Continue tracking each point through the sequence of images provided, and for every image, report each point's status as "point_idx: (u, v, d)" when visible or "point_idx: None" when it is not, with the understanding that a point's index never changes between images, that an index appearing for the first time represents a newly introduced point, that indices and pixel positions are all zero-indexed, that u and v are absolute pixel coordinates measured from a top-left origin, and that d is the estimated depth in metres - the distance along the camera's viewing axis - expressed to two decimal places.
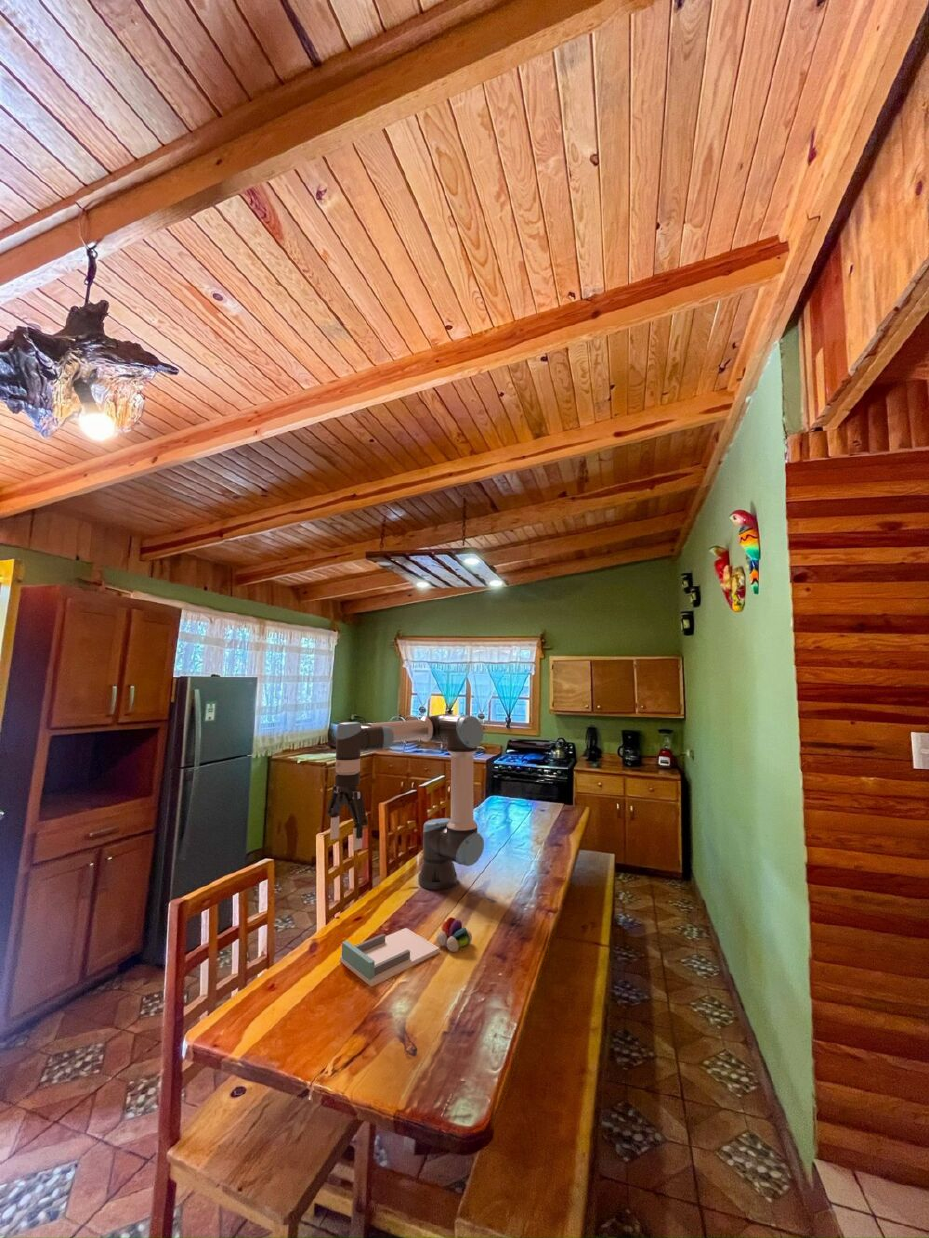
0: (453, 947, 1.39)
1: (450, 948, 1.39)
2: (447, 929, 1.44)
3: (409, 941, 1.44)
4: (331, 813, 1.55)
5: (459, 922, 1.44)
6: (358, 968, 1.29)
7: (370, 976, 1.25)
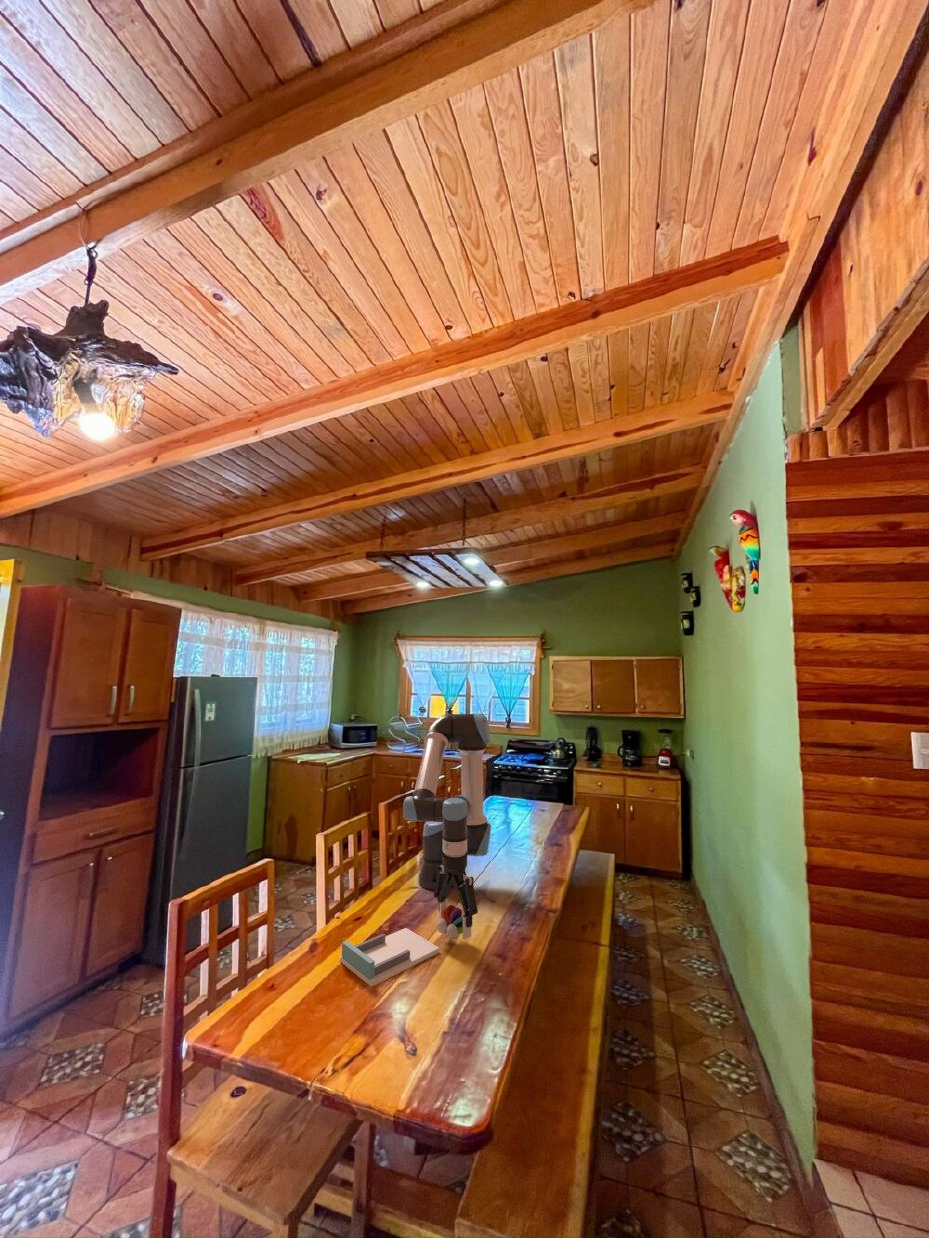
0: (453, 934, 1.40)
1: (450, 935, 1.40)
2: (447, 916, 1.45)
3: (409, 941, 1.44)
4: (439, 897, 1.49)
5: (459, 910, 1.45)
6: (358, 968, 1.29)
7: (370, 976, 1.25)
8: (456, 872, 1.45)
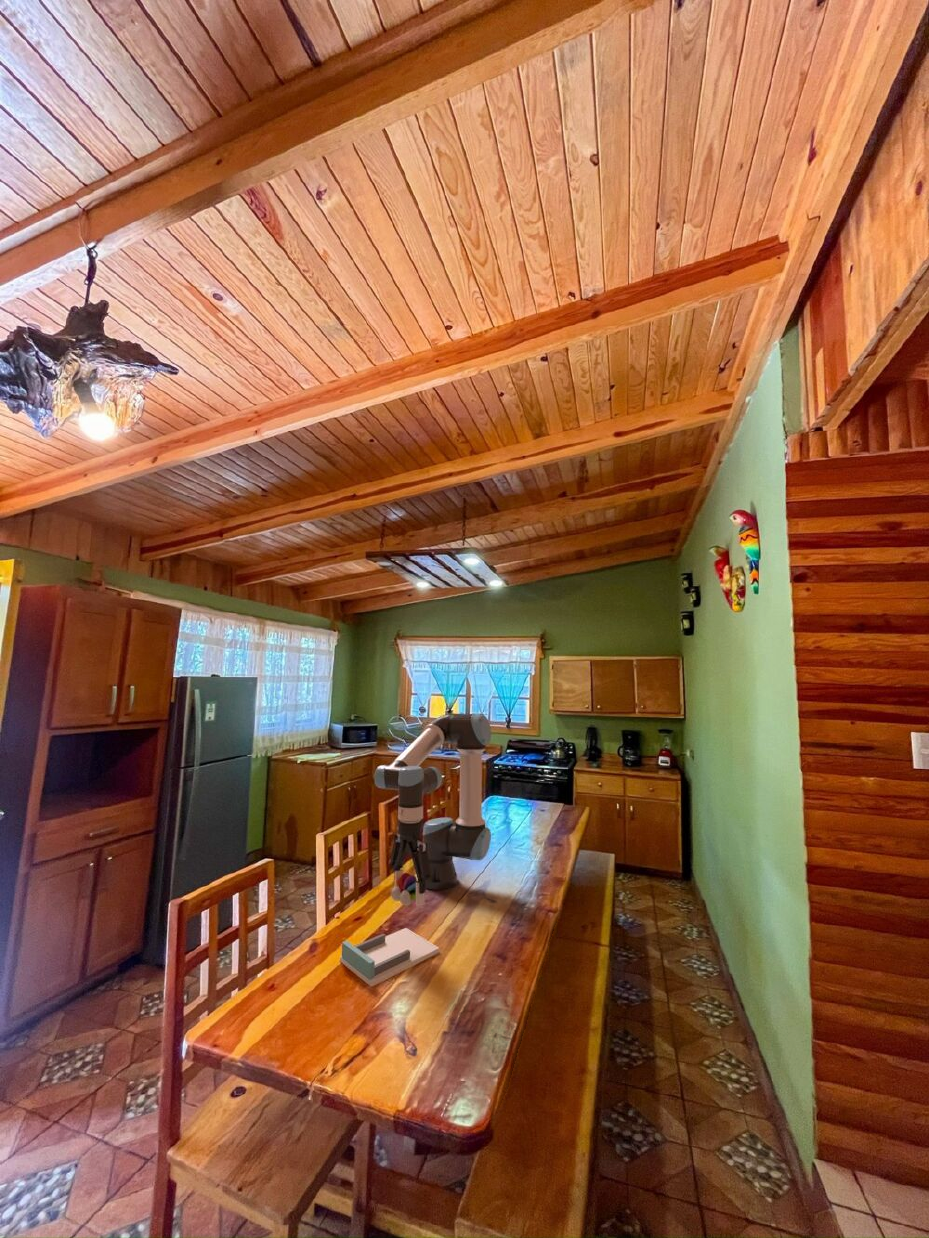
0: (405, 900, 1.39)
1: (403, 901, 1.39)
2: (401, 884, 1.43)
3: (409, 941, 1.44)
4: (395, 866, 1.48)
5: (413, 877, 1.44)
6: (358, 968, 1.29)
7: (370, 976, 1.25)
8: (411, 839, 1.44)
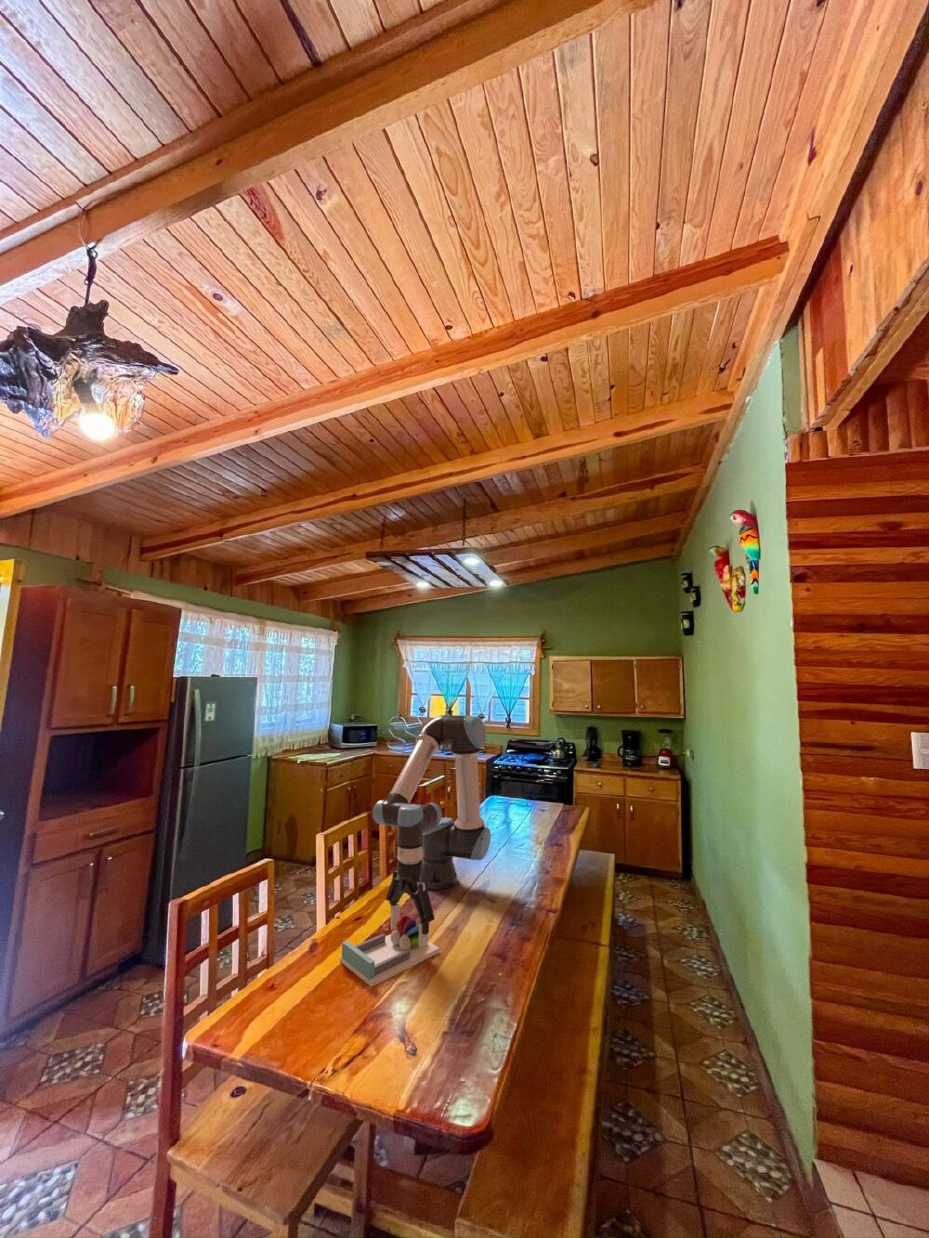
0: (405, 945, 1.37)
1: (402, 947, 1.38)
2: (401, 927, 1.42)
3: None
4: (391, 901, 1.48)
5: (413, 920, 1.43)
6: (358, 968, 1.29)
7: (370, 976, 1.25)
8: (410, 880, 1.43)
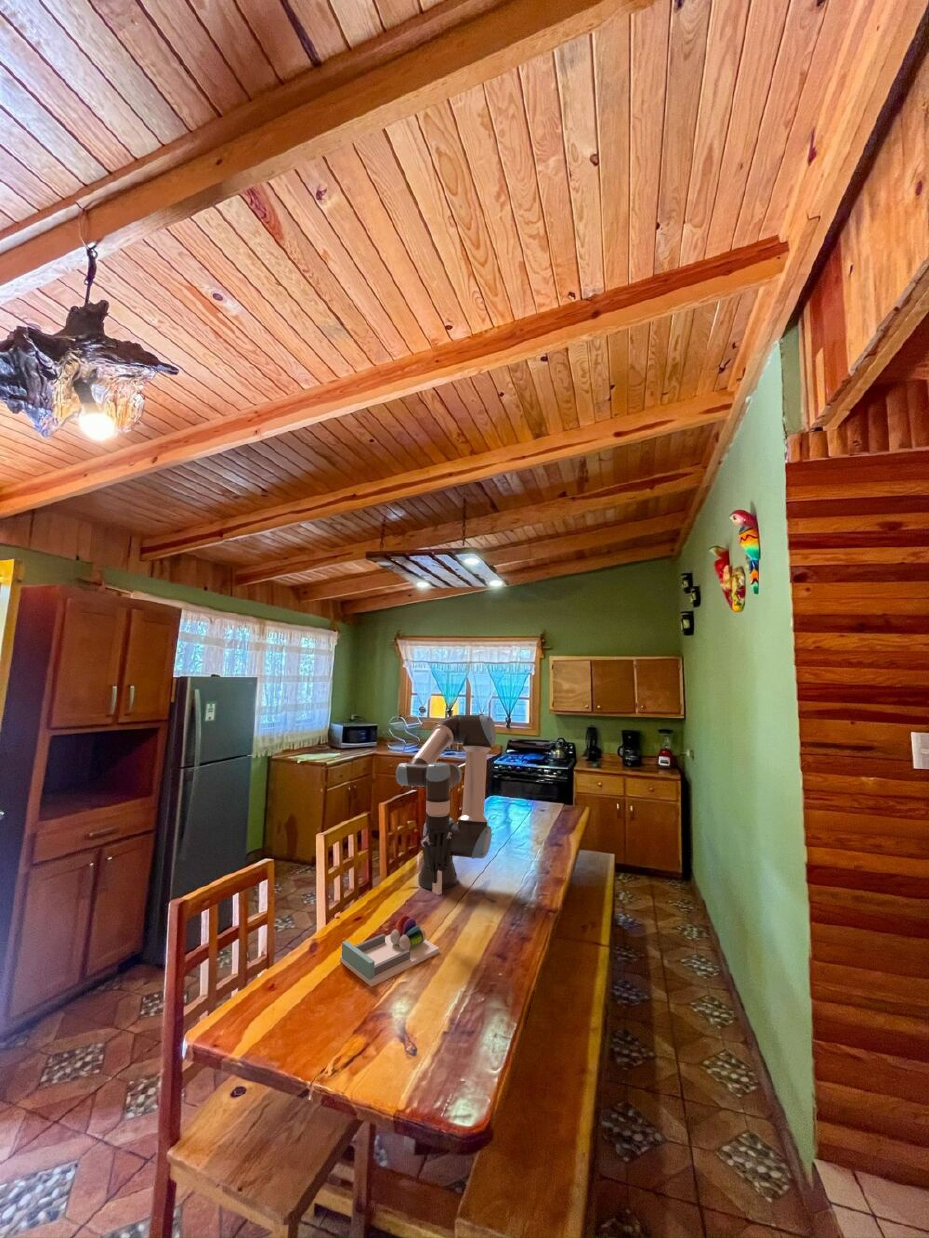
0: (405, 945, 1.37)
1: (402, 947, 1.38)
2: (400, 927, 1.42)
3: None
4: None
5: (413, 920, 1.43)
6: (358, 968, 1.29)
7: (370, 976, 1.25)
8: None
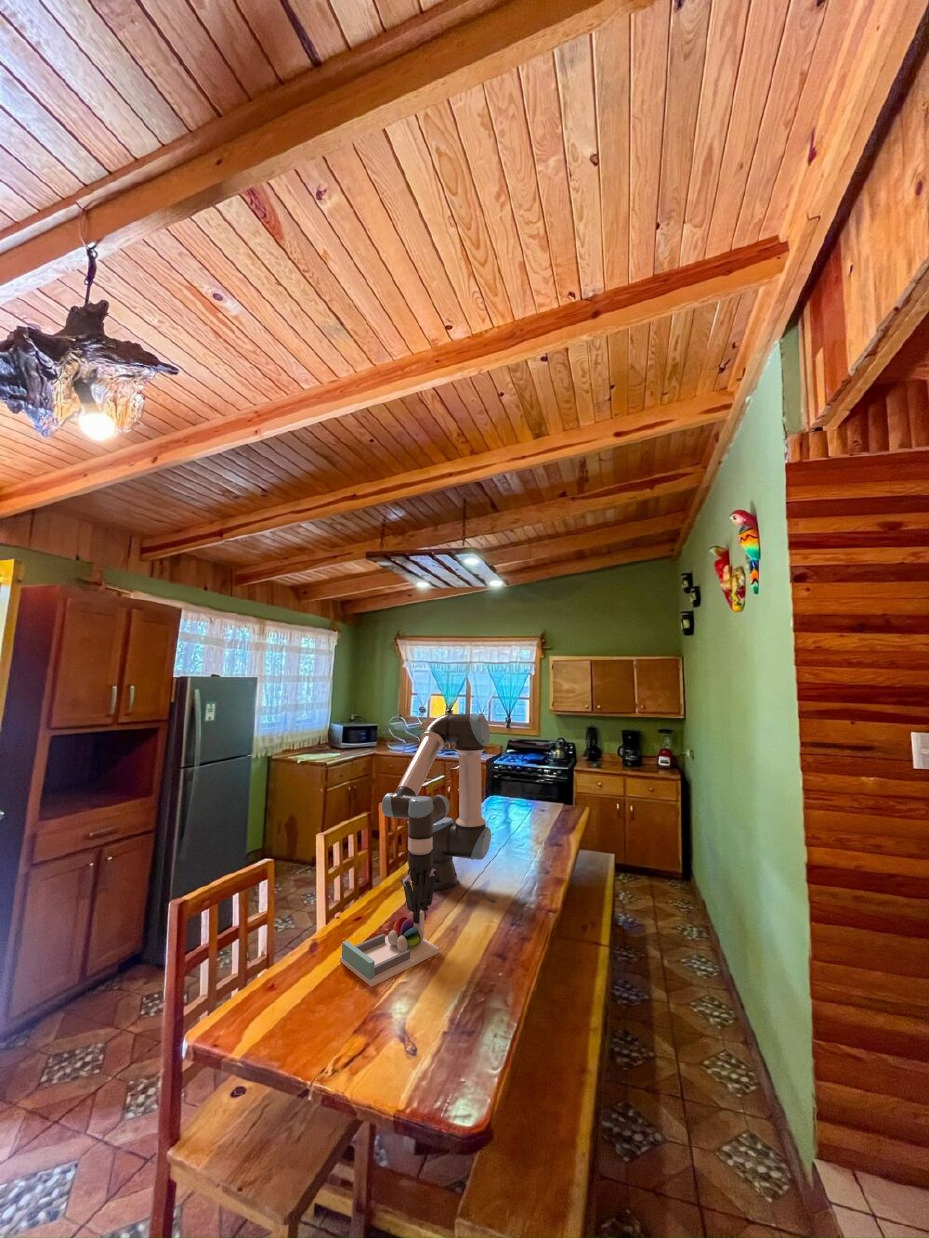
0: (402, 946, 1.37)
1: (399, 947, 1.37)
2: (398, 928, 1.41)
3: None
4: None
5: (410, 921, 1.42)
6: (358, 968, 1.29)
7: (370, 976, 1.25)
8: None
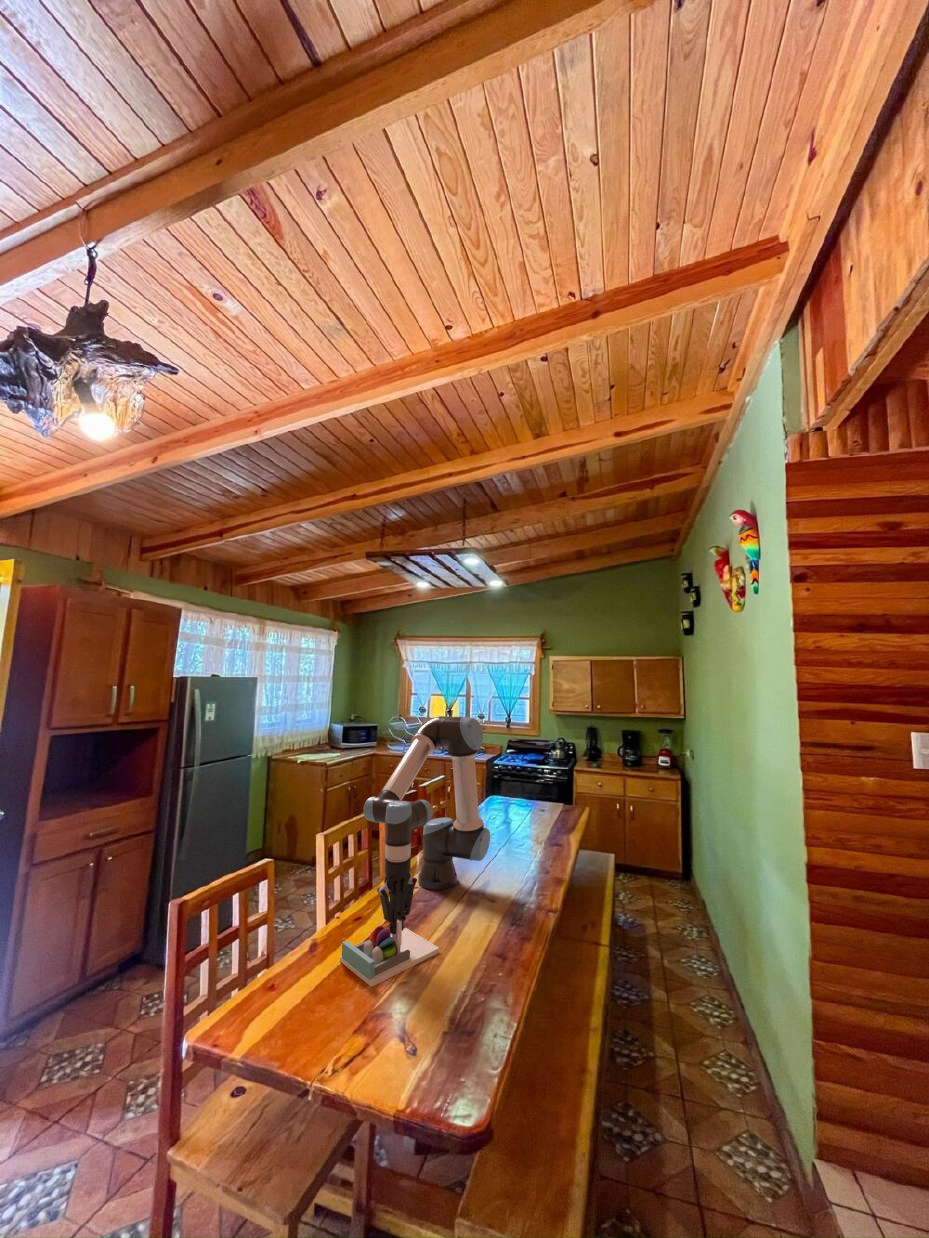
0: (377, 958, 1.31)
1: (374, 959, 1.31)
2: (374, 939, 1.36)
3: (409, 941, 1.44)
4: None
5: (387, 931, 1.36)
6: (358, 968, 1.29)
7: (370, 976, 1.25)
8: None
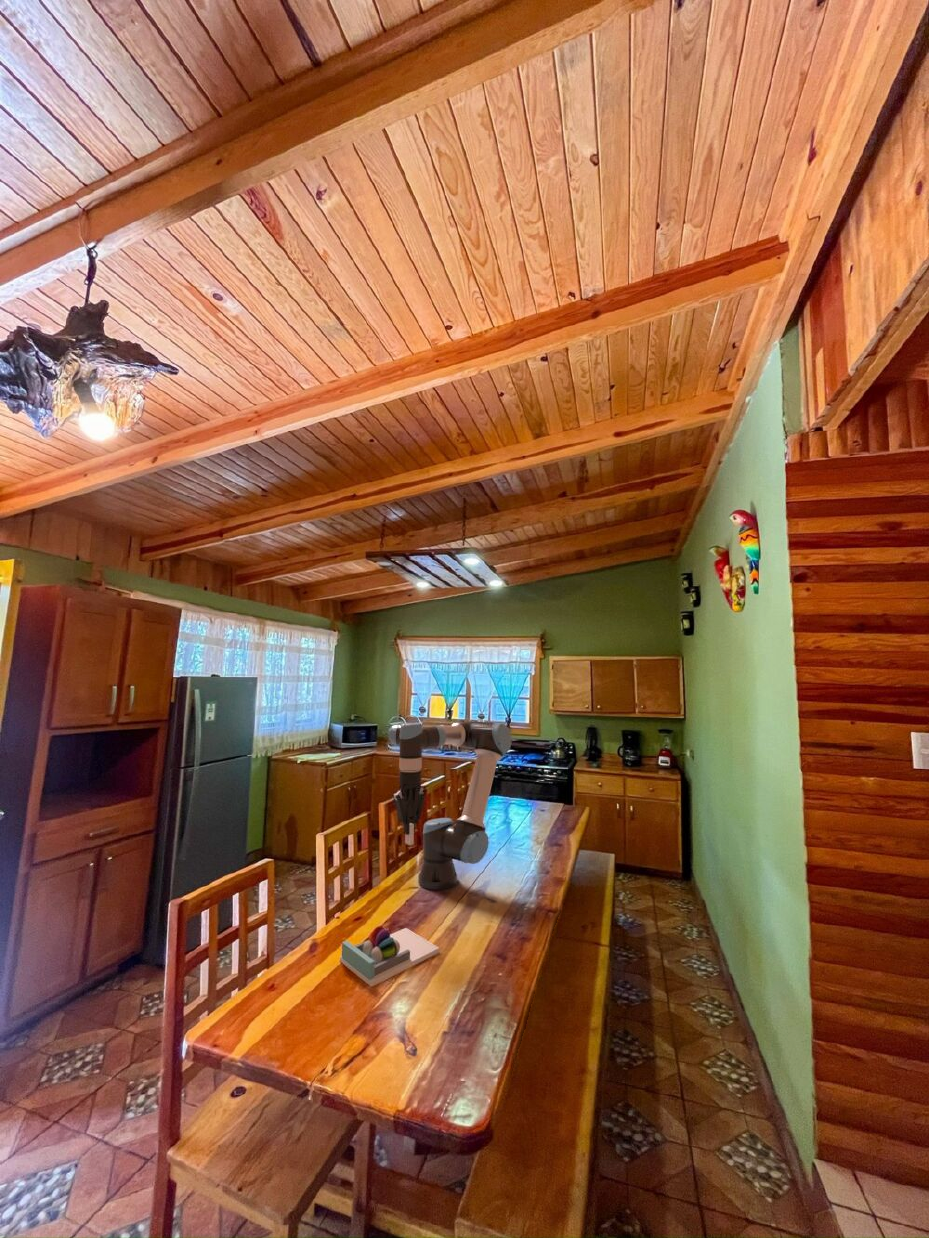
0: (376, 958, 1.31)
1: (374, 959, 1.31)
2: (373, 939, 1.36)
3: (409, 941, 1.44)
4: None
5: (386, 932, 1.36)
6: (358, 968, 1.29)
7: (370, 976, 1.25)
8: None
